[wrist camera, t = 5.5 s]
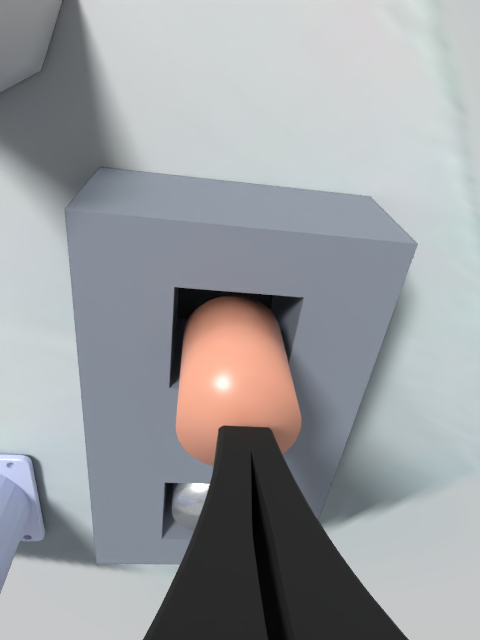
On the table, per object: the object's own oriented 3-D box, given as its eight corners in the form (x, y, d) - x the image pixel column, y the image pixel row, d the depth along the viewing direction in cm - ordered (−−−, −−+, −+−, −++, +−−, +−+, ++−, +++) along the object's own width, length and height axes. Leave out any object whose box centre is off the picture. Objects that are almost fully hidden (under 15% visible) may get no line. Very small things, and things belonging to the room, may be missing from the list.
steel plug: (175, 459, 26) (170, 531, 22) (178, 414, 24) (173, 485, 20) (236, 461, 26) (241, 532, 23) (244, 417, 25) (250, 487, 21)
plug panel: (113, 482, 27) (96, 563, 23) (100, 167, 17) (64, 209, 13) (288, 487, 29) (302, 565, 24) (370, 196, 19) (417, 243, 14)
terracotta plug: (180, 372, 17) (173, 467, 13) (186, 291, 15) (178, 375, 12) (271, 377, 18) (288, 471, 14) (288, 299, 16) (313, 383, 12)
